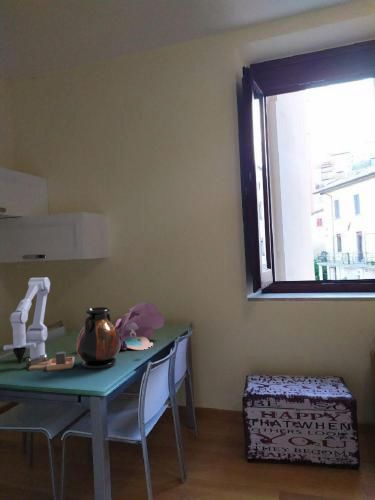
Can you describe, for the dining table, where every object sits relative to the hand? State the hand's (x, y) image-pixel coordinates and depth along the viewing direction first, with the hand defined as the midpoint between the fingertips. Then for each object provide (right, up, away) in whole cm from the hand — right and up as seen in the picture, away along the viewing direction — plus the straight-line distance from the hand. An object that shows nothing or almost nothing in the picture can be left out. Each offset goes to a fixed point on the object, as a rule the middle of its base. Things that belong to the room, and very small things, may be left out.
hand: (20, 362), depth 174 cm
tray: (+21, -2, 0) cm, 21 cm away
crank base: (+9, -2, +1) cm, 9 cm away
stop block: (+21, -1, 0) cm, 21 cm away
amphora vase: (+40, -1, -1) cm, 40 cm away
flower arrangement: (+54, -1, +32) cm, 63 cm away
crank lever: (+7, -1, +3) cm, 7 cm away
